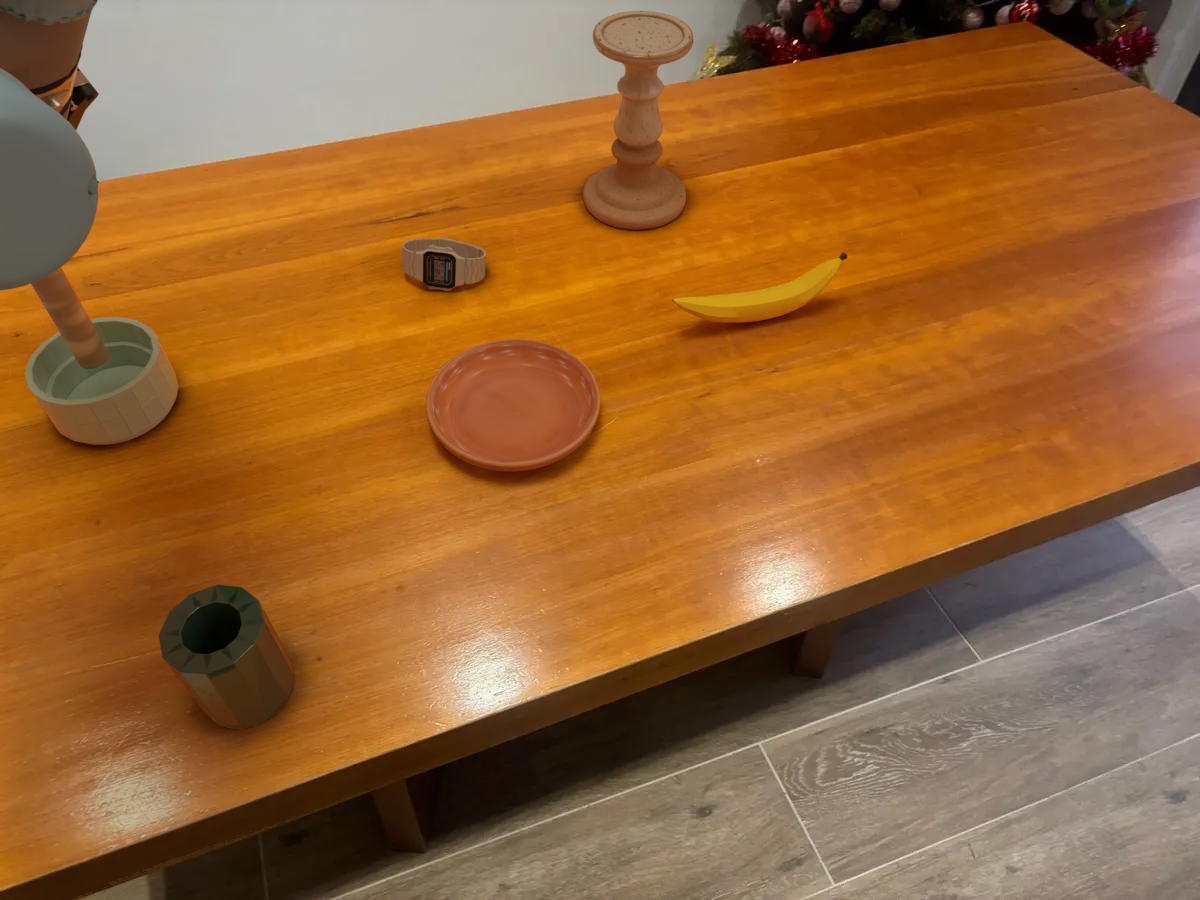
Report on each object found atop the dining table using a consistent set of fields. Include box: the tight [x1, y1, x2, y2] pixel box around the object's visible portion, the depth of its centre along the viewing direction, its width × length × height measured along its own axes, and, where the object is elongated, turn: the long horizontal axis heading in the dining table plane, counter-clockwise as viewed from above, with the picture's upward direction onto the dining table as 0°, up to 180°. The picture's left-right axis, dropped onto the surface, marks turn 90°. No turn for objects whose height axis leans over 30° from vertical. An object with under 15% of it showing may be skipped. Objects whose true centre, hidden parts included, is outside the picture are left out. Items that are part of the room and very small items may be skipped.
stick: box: [30, 267, 109, 369], centre depth 71 cm, size 3×3×24 cm
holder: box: [158, 584, 295, 730], centre depth 64 cm, size 7×7×9 cm
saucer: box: [425, 338, 601, 472], centre depth 84 cm, size 16×16×3 cm
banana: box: [671, 252, 848, 323], centre depth 92 cm, size 3×19×6 cm, turn 108°
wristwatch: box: [401, 236, 487, 292], centre depth 97 cm, size 9×6×5 cm
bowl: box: [24, 316, 180, 446], centre depth 83 cm, size 11×11×6 cm
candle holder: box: [582, 10, 694, 231], centre depth 100 cm, size 12×12×20 cm
